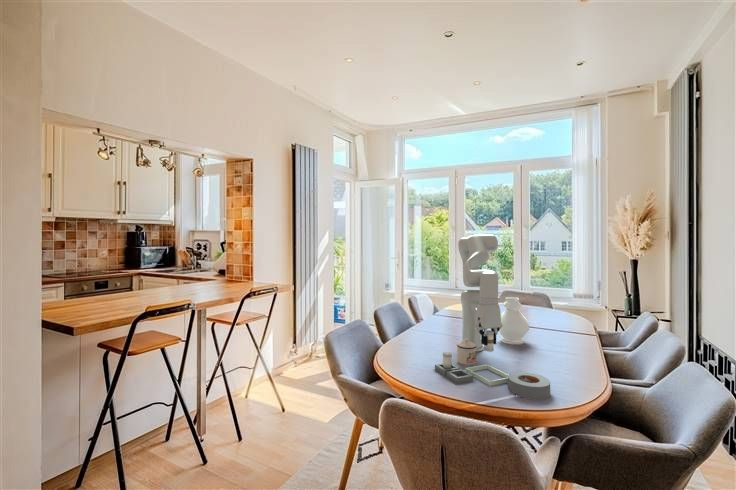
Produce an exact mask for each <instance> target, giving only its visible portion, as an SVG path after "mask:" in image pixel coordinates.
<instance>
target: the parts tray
mask: <svg viewBox="0 0 736 490" xmlns="http://www.w3.org/2000/svg"><path fill="white" fill-rule="evenodd" d="M482 370H489V371H491V372H492V373H495V374H497V375H499V376H500V377H502V378H498V379H493V380H490V379H487V378H486V377H484V376H482V375H480V374H479V373H477V371H482ZM464 371H466V372H468V373H469V374H471V375H473V378H476V379H477V380H479V381H480V382H482V383H484V384H486V385H488V386H489V387H491V386H492V387H493V386H497V385H503V384H508V375H509V374H508V373H506V372H504V371H502V370H499V369H498V368H495V367H494V366H492V365H489V364H488V363H487V364H482V365H481V364H480V365H475V366H469V367H465V368H464Z"/></svg>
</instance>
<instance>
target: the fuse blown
mask: <svg viewBox="0 0 736 490" xmlns="http://www.w3.org/2000/svg"><path fill="white" fill-rule="evenodd" d="M486 336H487V337H488V345H487V346H486V345H483V347H484V350H483V351H485V352H489V353H490V352H491V353H492V352H494V351H495V350H494V349H495V348H494V345H495V344H494V331H491V329H490V330H489V329H487V334H486Z"/></svg>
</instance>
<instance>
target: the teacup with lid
mask: <svg viewBox="0 0 736 490" xmlns="http://www.w3.org/2000/svg"><path fill="white" fill-rule="evenodd" d="M476 347H477V346H476V344H475V343H472V342H471V341H469V339H464V341H458V342H457V343H456V350H457V351H456V353H457V354H456V356H457V357H456V361H457V363H458V364H461V365H465V366H466V365H467V366H472V365H475V364H476V363H477V361H476V360H477V352H476Z"/></svg>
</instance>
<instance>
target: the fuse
mask: <svg viewBox="0 0 736 490" xmlns="http://www.w3.org/2000/svg"><path fill="white" fill-rule="evenodd" d="M452 356H453V354H452V352H449V351H444V352H442V363H443V368H444V369H451V368H452V364H453V363H452V362H453V359H452Z"/></svg>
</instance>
